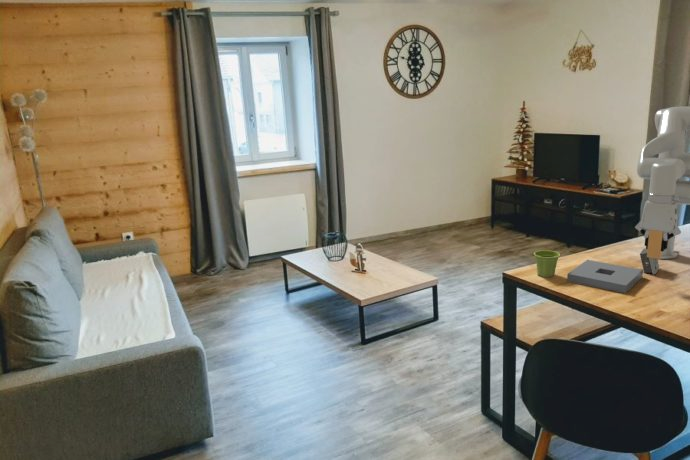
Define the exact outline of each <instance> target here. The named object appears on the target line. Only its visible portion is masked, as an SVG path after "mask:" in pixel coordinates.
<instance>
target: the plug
mask: <svg viewBox="0 0 690 460" xmlns="http://www.w3.org/2000/svg"><path fill="white" fill-rule="evenodd" d="M662 240H663V231H655V230H649V239H648V249H647V257H650V258H656V259H658V260H660V258H661V257H662V256H663V252H662V251H661V245H662Z"/></svg>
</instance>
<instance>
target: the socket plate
mask: <svg viewBox="0 0 690 460" xmlns="http://www.w3.org/2000/svg"><path fill="white" fill-rule="evenodd" d="M643 274H644V270H643V268H642V269H641V268H634V267H631V266H624V265H620V264H619V265H618V264H612V263H608V262H601V261H595V260H590V259H586V260H585V261H583V262H582V263H580V264H579V265H578V266H576V267H575V268H574V269H572V270H571V271H569V272H568V273H567V279H566V282H568V283H573V284H578V285H582V286H588V287H592V288H597V289H600V290H601V289H603V290H608V291H610V292H611V291H612V292H617V293H621V294H627V292H629V291H630V290H631V288H632V287H633V286H635V285H636V284H637V283H638V282H639V281H640V280H641V279H642V278H643Z"/></svg>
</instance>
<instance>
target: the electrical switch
mask: <svg viewBox="0 0 690 460" xmlns="http://www.w3.org/2000/svg"><path fill="white" fill-rule="evenodd" d="M639 256H640V261H641V265H642V270H643V274H648V273H649V274H652V275H654V276H655V275H656V273H657V272H658V270H659V269H660V264H659V259H656V258H650V257H647V249H645V248H643V249H642V250H641V251H640V253H639Z"/></svg>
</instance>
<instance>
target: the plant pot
mask: <svg viewBox="0 0 690 460" xmlns="http://www.w3.org/2000/svg"><path fill="white" fill-rule="evenodd" d="M533 255H534V258H535V262H536V272H537V276H540V277H541V278H551V277H555V273H556V268H557V263H558V261H559V258H560V256H561V253H559V252H558V251H554V250H548V249H546V250H545V249H543V250H542V249H541V250H536V251H534V252H533Z"/></svg>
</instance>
